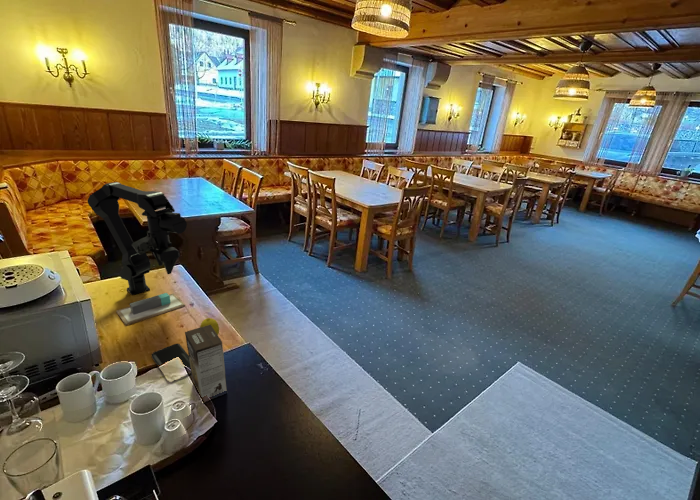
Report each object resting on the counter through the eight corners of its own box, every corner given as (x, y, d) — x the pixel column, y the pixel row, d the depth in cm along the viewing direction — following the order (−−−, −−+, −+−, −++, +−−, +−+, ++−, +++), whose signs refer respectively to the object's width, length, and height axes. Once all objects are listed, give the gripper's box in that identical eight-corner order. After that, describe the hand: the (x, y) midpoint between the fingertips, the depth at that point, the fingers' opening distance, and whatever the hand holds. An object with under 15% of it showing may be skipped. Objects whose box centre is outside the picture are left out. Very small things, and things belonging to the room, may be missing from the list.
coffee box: (191, 383, 90) (183, 331, 84) (216, 373, 94) (210, 323, 88) (201, 405, 84) (194, 351, 78) (228, 394, 87) (222, 341, 82)
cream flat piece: (116, 312, 119) (115, 308, 119) (173, 294, 132) (173, 291, 132) (126, 325, 112) (125, 322, 112) (185, 305, 125) (184, 302, 125)
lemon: (223, 336, 110) (221, 314, 107) (215, 346, 105) (212, 324, 102) (206, 334, 110) (203, 312, 107) (197, 344, 105) (194, 322, 102)
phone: (168, 381, 90) (150, 353, 99) (169, 384, 90) (150, 356, 100) (199, 367, 95) (178, 342, 105) (199, 371, 95) (179, 345, 105)
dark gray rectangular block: (131, 311, 119) (129, 303, 118) (167, 299, 127) (166, 292, 126) (133, 314, 117) (132, 307, 116) (170, 302, 125) (169, 295, 124)
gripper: (124, 226, 120) (132, 266, 126) (140, 241, 108) (148, 285, 114) (159, 221, 128) (165, 259, 133) (177, 234, 115) (183, 276, 121)
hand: (164, 269), depth 125 cm, fingers open, 9 cm apart
